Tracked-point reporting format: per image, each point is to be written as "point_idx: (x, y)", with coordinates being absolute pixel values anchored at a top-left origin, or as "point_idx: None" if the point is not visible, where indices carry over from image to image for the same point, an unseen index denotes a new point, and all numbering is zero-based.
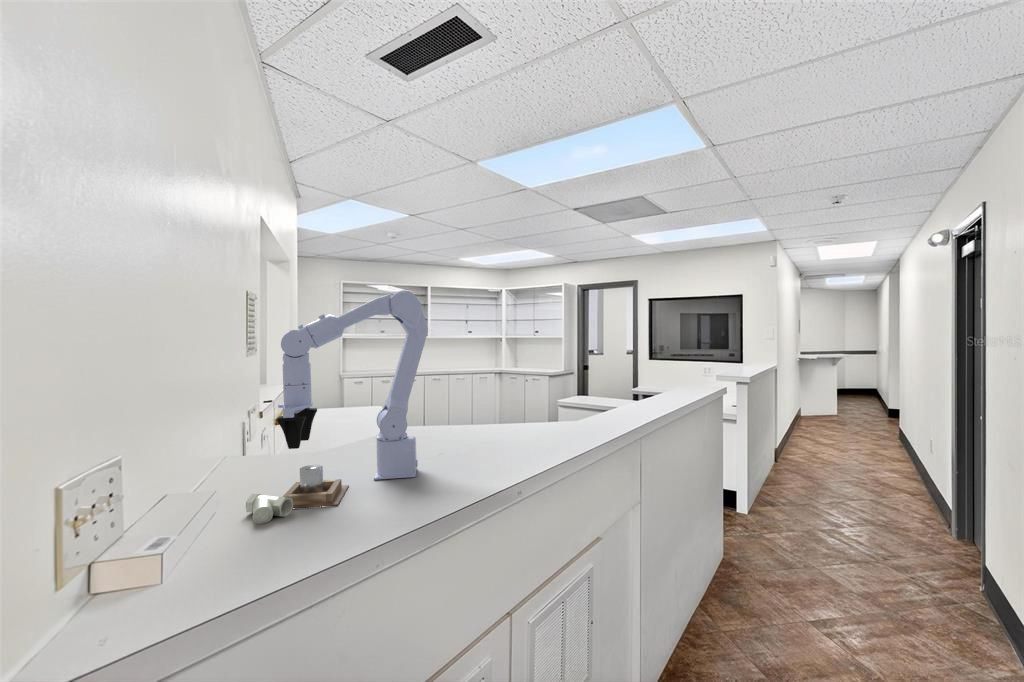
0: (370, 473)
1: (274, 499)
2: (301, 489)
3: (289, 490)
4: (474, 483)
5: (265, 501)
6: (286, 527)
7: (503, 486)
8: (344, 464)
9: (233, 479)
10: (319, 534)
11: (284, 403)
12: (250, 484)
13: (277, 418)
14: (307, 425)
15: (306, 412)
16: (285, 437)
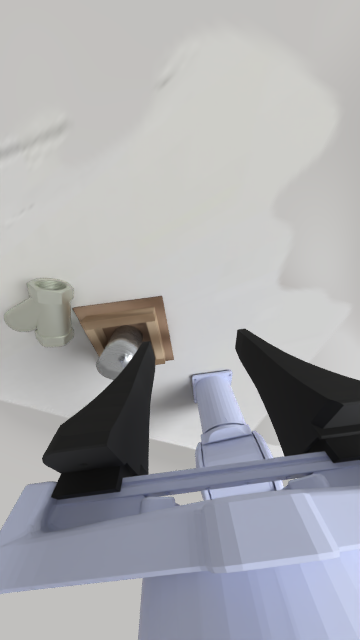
0: (222, 364)
1: (40, 331)
2: (110, 338)
3: (110, 320)
4: (172, 430)
5: (28, 322)
6: (33, 343)
7: (164, 440)
8: (282, 324)
9: (272, 77)
10: (33, 375)
11: (181, 614)
12: (208, 183)
13: (45, 453)
14: (259, 382)
15: (294, 438)
16: (127, 364)
